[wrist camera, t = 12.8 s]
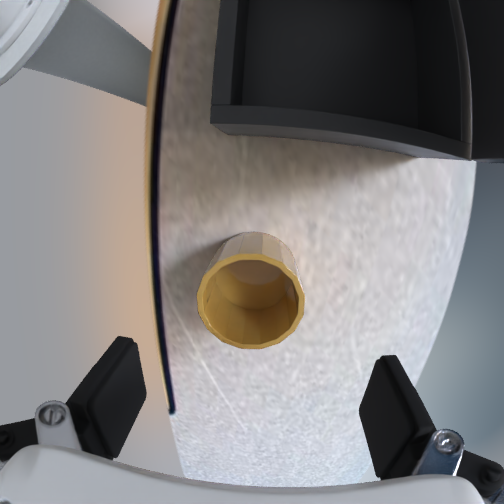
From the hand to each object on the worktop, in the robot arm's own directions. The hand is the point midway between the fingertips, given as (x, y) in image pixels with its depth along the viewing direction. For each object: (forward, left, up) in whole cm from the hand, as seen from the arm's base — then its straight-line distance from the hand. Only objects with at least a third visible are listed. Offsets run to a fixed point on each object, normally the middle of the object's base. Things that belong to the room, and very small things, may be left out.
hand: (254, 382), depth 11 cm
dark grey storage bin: (-2, +18, -12) cm, 21 cm away
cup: (0, 0, -12) cm, 12 cm away
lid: (+3, +19, +2) cm, 20 cm away
